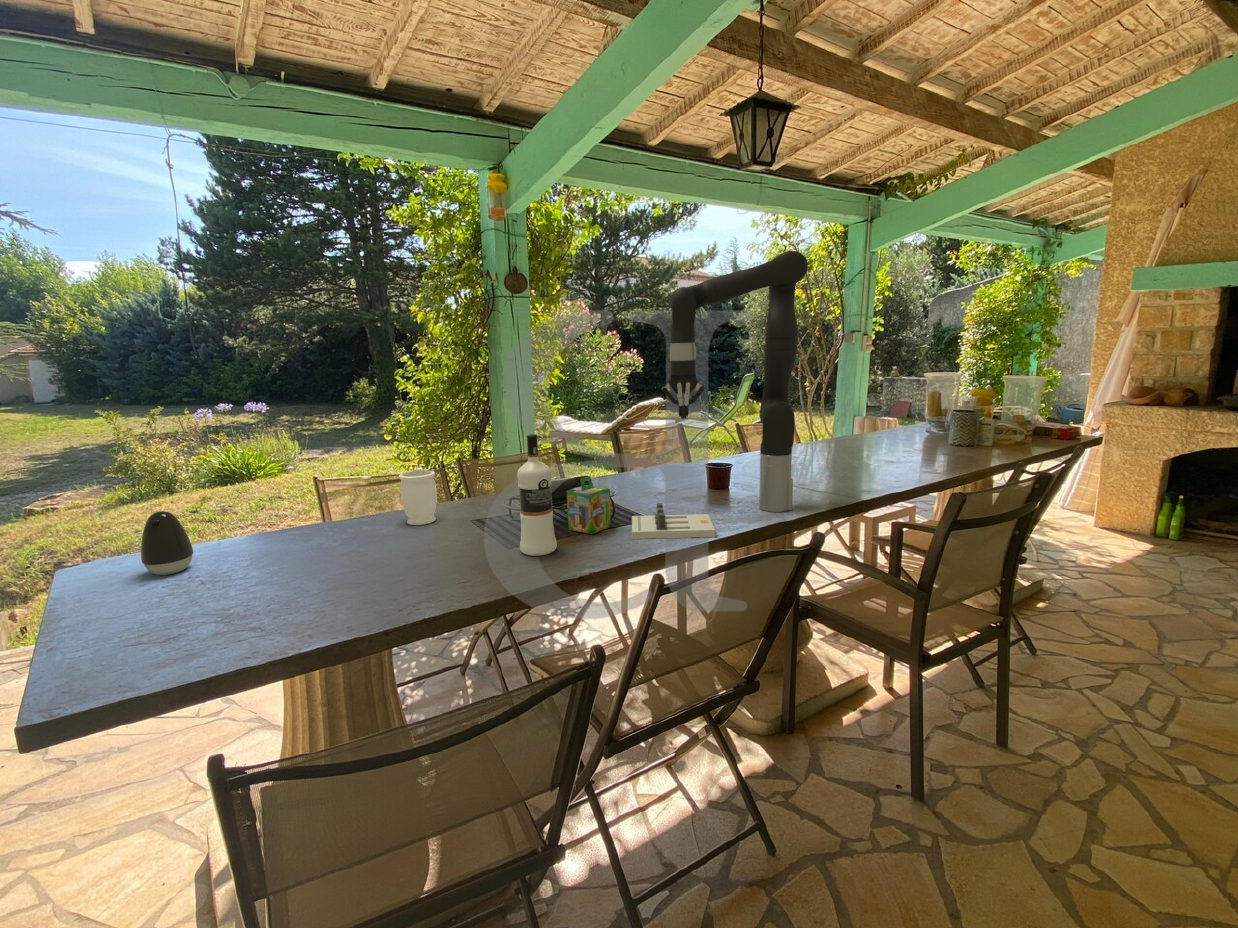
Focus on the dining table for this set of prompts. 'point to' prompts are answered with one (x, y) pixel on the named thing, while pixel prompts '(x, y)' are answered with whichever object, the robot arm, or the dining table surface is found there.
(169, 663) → the dining table surface
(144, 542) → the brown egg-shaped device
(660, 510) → the handle
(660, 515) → the handle
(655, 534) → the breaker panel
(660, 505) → the handle
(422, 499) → the jar
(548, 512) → the vodka
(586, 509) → the chalk box
